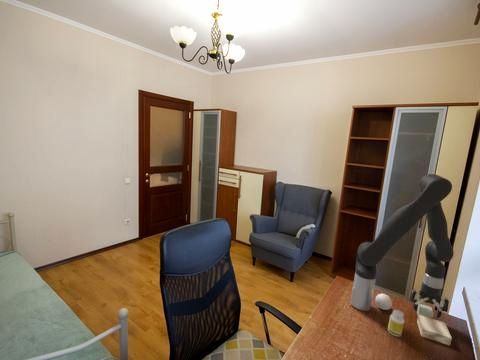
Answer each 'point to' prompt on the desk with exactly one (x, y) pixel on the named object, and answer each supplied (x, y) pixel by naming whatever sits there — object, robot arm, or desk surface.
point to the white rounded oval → (383, 301)
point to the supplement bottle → (396, 323)
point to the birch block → (434, 330)
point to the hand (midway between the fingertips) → (426, 313)
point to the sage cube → (425, 311)
